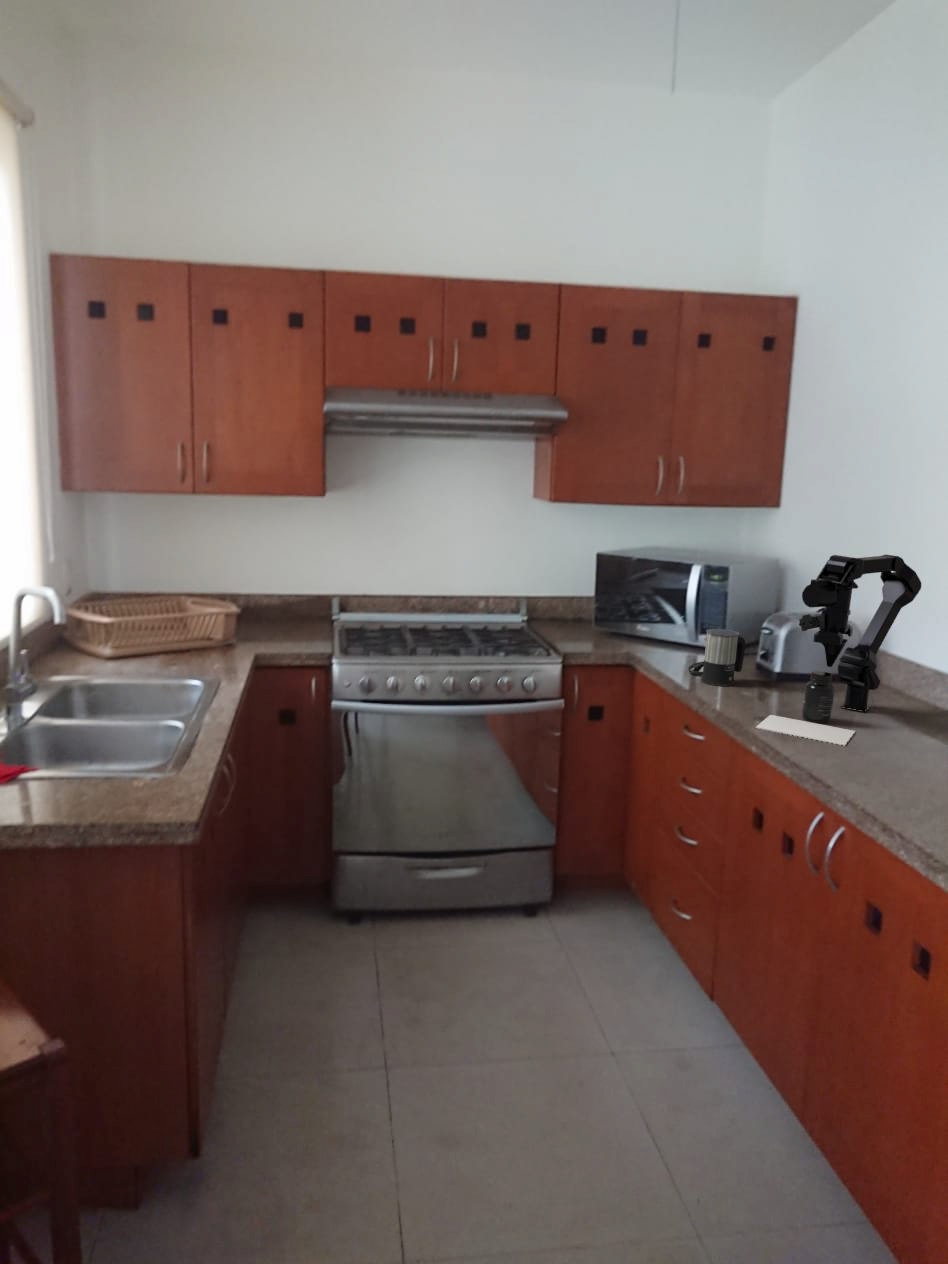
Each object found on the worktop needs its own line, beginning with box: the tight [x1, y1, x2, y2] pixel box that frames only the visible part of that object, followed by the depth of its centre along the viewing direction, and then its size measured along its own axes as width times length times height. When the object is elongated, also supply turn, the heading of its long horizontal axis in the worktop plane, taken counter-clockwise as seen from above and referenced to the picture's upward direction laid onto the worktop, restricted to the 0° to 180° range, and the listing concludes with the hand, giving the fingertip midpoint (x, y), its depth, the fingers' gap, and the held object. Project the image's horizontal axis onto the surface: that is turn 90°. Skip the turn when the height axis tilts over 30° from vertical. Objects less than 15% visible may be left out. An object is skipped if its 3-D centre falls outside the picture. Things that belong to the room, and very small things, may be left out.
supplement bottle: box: [801, 670, 835, 724], centre depth 227 cm, size 7×7×12 cm
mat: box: [755, 714, 856, 747], centre depth 218 cm, size 14×20×1 cm
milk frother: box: [687, 628, 747, 687], centre depth 264 cm, size 14×16×15 cm
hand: (829, 666), depth 233 cm, fingers closed
